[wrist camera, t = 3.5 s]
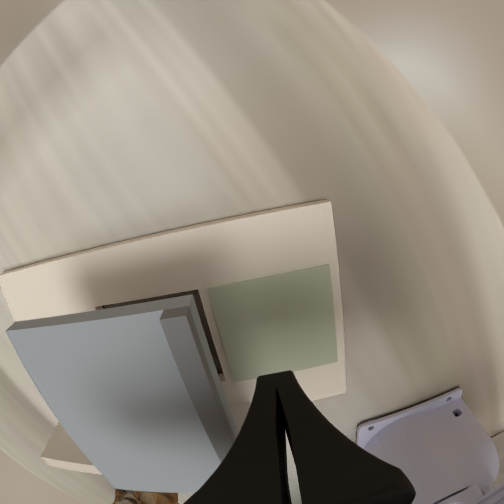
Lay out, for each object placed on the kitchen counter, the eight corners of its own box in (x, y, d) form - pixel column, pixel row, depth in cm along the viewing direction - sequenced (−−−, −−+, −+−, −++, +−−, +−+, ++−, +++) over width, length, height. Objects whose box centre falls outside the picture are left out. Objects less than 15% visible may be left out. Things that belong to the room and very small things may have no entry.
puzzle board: (326, 199, 15) (371, 224, 10) (343, 385, 19) (369, 449, 13) (3, 272, 16) (-52, 309, 10) (74, 413, 19) (48, 465, 14)
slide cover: (192, 294, 10) (186, 315, 8) (255, 476, 13) (257, 497, 12) (15, 321, 10) (-3, 338, 9) (118, 478, 13) (113, 496, 12)
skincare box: (459, 466, 25) (494, 531, 14) (472, 446, 24) (514, 515, 12) (492, 449, 25) (529, 507, 14) (505, 429, 24) (548, 489, 12)
